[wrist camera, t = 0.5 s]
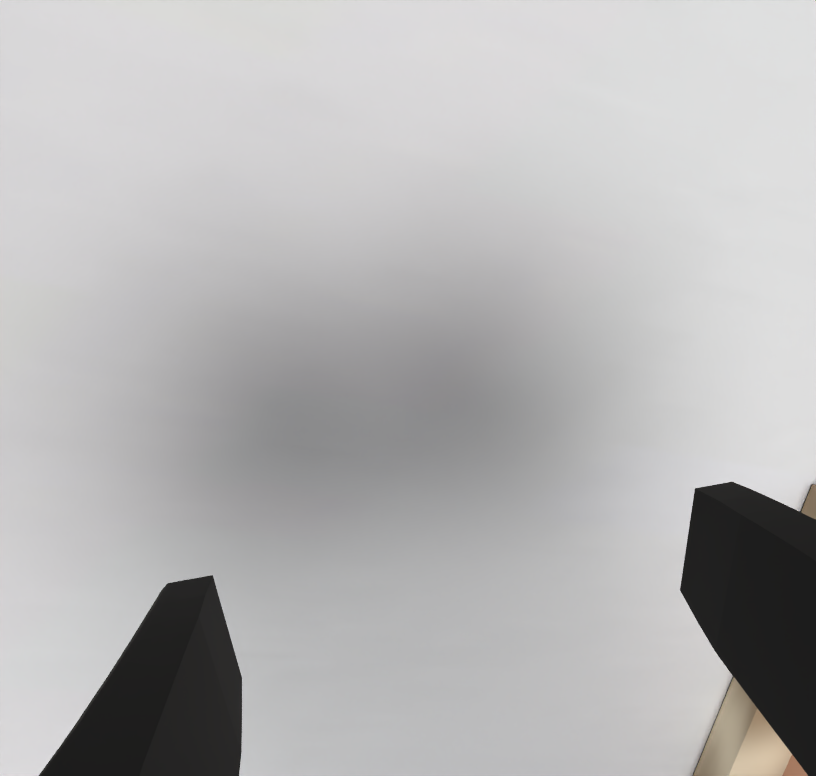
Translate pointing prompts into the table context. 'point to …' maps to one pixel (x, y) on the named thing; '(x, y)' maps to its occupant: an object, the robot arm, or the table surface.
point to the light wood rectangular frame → (746, 728)
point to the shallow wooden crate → (794, 768)
